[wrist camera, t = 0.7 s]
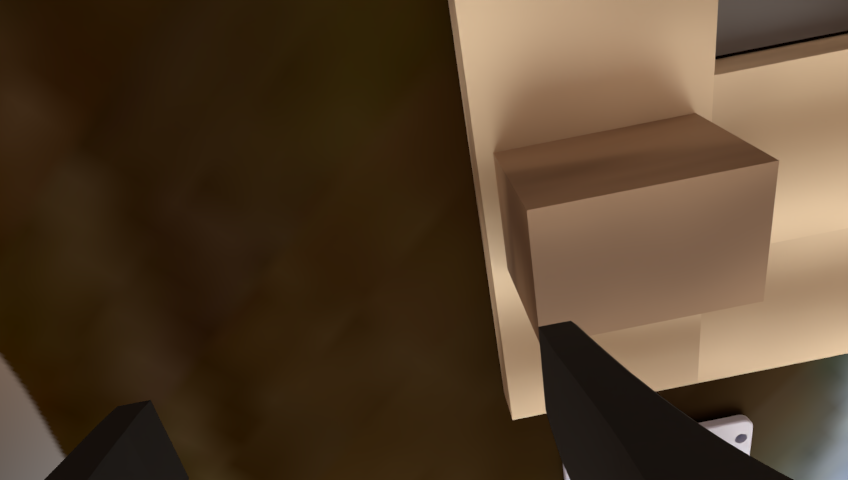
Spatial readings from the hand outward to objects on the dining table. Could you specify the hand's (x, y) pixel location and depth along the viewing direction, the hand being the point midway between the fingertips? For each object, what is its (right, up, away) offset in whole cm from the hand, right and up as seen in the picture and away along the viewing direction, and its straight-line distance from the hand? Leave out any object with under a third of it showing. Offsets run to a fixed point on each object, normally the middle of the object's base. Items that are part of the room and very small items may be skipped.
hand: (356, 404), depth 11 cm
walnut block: (+7, +4, +7) cm, 11 cm away
